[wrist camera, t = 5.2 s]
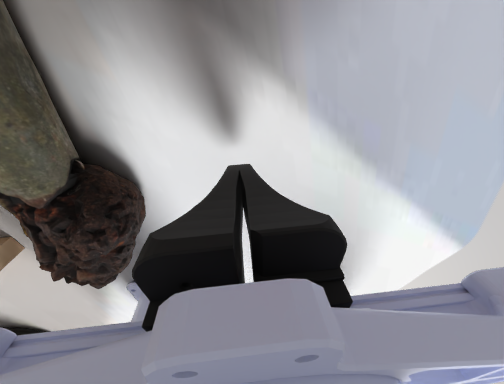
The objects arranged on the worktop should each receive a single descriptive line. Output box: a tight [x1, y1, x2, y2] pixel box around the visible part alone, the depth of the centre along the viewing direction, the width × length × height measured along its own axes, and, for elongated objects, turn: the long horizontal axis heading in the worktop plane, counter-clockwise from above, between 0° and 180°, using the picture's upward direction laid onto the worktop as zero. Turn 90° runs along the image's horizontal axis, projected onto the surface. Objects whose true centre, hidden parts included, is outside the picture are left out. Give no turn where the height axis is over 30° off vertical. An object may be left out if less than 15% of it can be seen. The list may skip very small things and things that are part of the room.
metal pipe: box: [0, 0, 146, 289], centre depth 11 cm, size 18×7×6 cm, turn 179°
